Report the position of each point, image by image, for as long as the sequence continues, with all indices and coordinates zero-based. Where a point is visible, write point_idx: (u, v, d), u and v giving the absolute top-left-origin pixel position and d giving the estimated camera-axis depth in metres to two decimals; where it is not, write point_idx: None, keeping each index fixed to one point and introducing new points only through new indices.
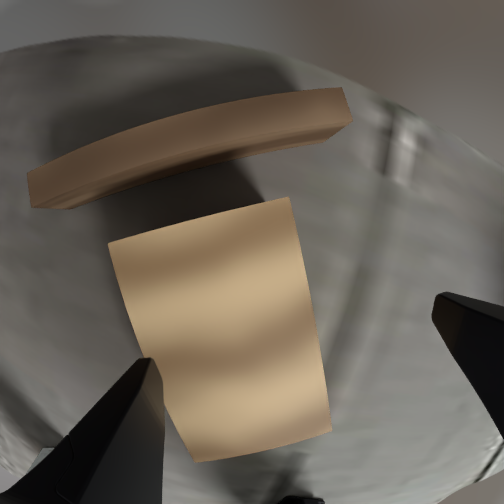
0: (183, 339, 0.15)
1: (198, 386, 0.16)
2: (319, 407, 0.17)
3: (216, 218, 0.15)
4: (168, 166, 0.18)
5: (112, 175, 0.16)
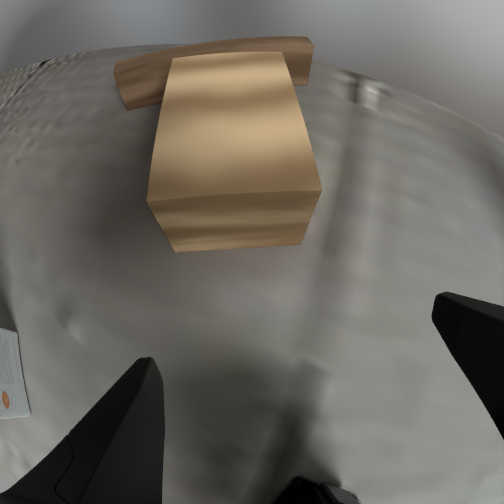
0: (198, 91, 0.20)
1: (193, 117, 0.18)
2: (302, 154, 0.17)
3: (239, 53, 0.22)
4: None
5: (172, 59, 0.25)
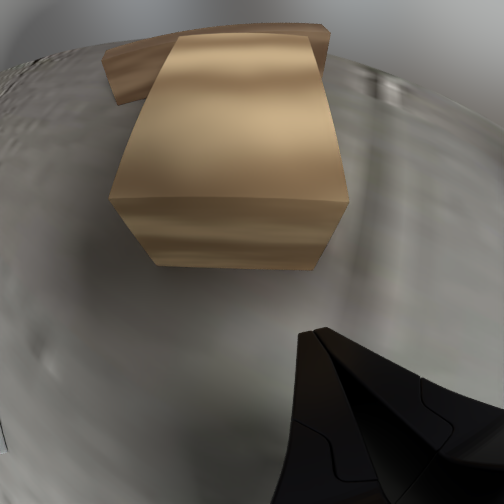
0: (200, 69, 0.15)
1: (188, 97, 0.14)
2: (325, 151, 0.12)
3: (256, 34, 0.18)
4: None
5: (168, 44, 0.21)
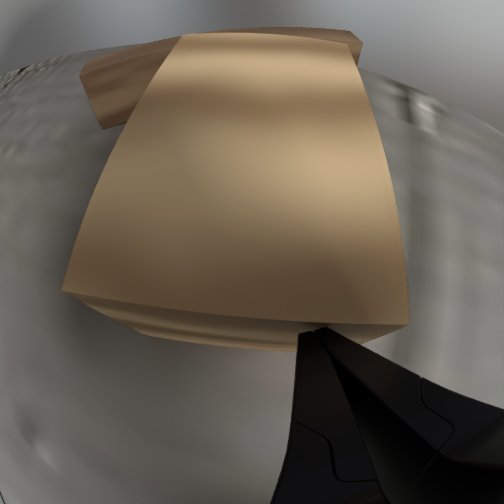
0: (204, 80, 0.11)
1: (183, 124, 0.10)
2: (382, 234, 0.08)
3: (282, 36, 0.14)
4: None
5: (162, 53, 0.16)
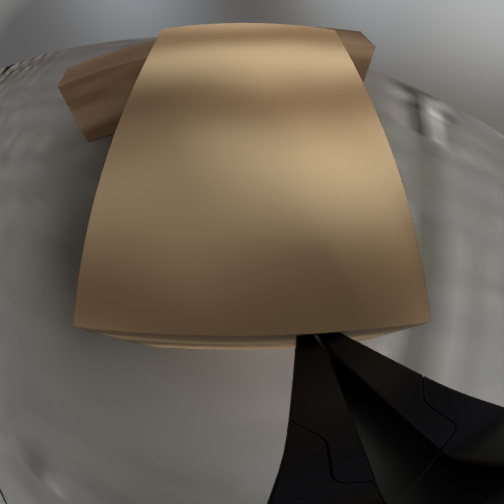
0: (194, 78, 0.10)
1: (179, 129, 0.09)
2: (398, 234, 0.08)
3: (268, 25, 0.13)
4: None
5: None
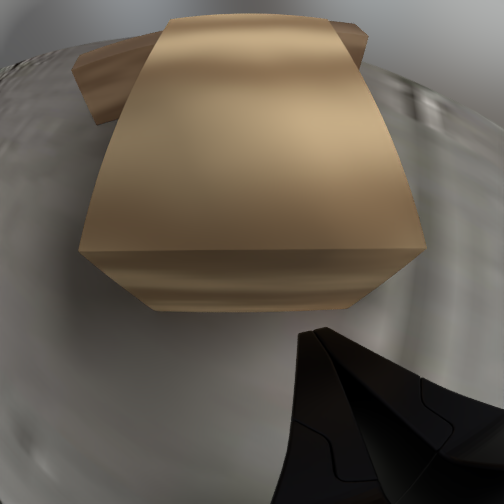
0: (200, 55, 0.11)
1: (187, 91, 0.10)
2: (388, 171, 0.08)
3: (266, 15, 0.14)
4: None
5: None
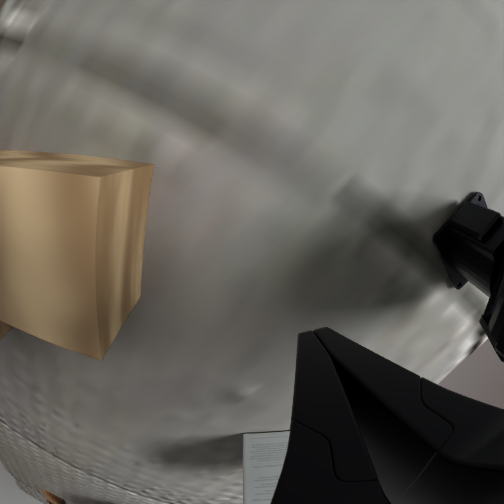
0: None
1: (8, 293, 0.13)
2: (51, 185, 0.11)
3: None
4: None
5: None
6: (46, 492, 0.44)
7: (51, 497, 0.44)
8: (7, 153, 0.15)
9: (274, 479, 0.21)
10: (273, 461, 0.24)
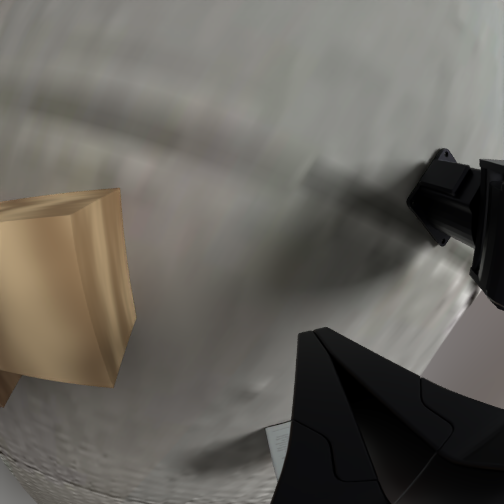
0: None
1: (11, 345, 0.12)
2: (27, 233, 0.11)
3: None
4: None
5: None
6: None
7: None
8: None
9: None
10: None
